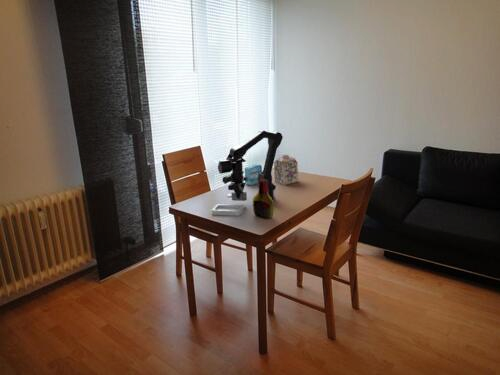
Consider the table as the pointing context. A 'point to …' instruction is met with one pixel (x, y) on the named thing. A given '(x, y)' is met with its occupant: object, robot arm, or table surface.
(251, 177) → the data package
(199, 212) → the table surface
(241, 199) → the plug
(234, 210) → the dock tray
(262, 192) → the bottle
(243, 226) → the table surface
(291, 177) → the decorative jar
